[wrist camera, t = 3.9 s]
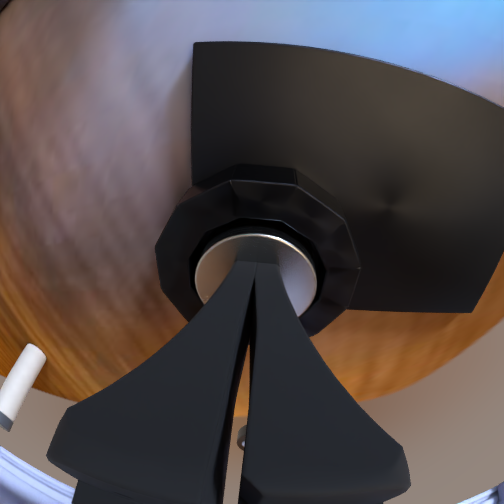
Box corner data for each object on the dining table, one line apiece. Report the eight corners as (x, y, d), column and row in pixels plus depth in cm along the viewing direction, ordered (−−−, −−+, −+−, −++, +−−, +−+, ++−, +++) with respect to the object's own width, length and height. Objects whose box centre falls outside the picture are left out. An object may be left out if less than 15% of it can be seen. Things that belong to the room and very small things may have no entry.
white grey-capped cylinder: (49, 357, 19) (11, 432, 13) (42, 362, 20) (7, 431, 14) (30, 340, 19) (-12, 414, 12) (24, 346, 19) (-15, 415, 13)
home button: (321, 214, 10) (328, 241, 8) (303, 302, 12) (305, 334, 11) (203, 203, 10) (190, 228, 9) (206, 293, 12) (198, 323, 11)
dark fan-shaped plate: (533, 126, 7) (565, 141, 5) (460, 318, 13) (474, 347, 11) (170, 45, 8) (143, 39, 6) (182, 300, 14) (169, 335, 12)
